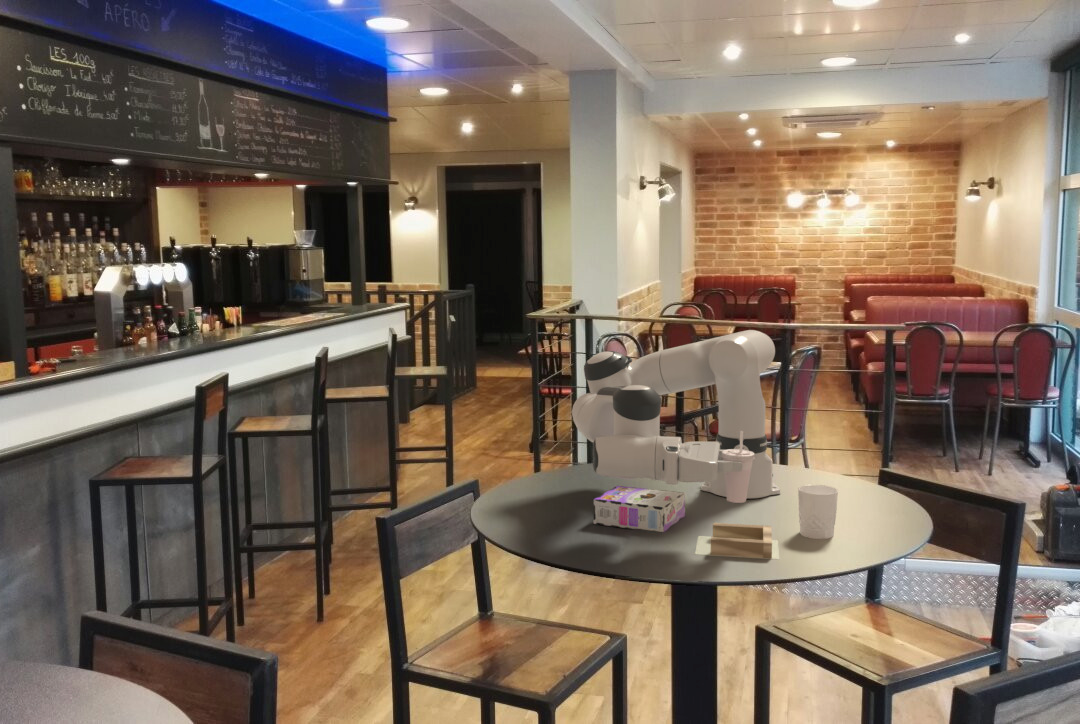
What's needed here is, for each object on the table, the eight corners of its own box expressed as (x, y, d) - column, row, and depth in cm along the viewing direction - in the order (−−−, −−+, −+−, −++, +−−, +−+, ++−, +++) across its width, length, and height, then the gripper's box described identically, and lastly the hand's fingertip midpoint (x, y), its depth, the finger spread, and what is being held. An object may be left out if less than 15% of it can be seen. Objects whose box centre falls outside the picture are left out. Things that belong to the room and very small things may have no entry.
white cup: (806, 528, 213) (808, 482, 212) (842, 535, 208) (844, 488, 207) (790, 537, 207) (791, 490, 206) (827, 544, 202) (828, 496, 201)
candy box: (592, 524, 217) (663, 534, 209) (592, 498, 216) (664, 507, 208) (617, 509, 229) (686, 517, 221) (617, 484, 228) (686, 491, 220)
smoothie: (746, 506, 194) (749, 435, 192) (714, 501, 197) (717, 431, 195) (757, 499, 199) (760, 430, 197) (726, 494, 202) (729, 426, 200)
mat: (698, 538, 207) (698, 535, 207) (777, 542, 203) (777, 540, 203) (694, 556, 195) (694, 554, 195) (779, 561, 192) (779, 559, 192)
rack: (713, 537, 206) (713, 522, 205) (770, 540, 203) (771, 525, 203) (710, 554, 194) (710, 539, 194) (771, 558, 192) (772, 543, 192)
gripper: (675, 462, 210) (742, 465, 207) (667, 486, 190) (741, 490, 187) (675, 432, 209) (743, 435, 206) (667, 454, 189) (742, 457, 186)
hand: (742, 461), depth 197 cm, fingers closed on smoothie, 6 cm apart
